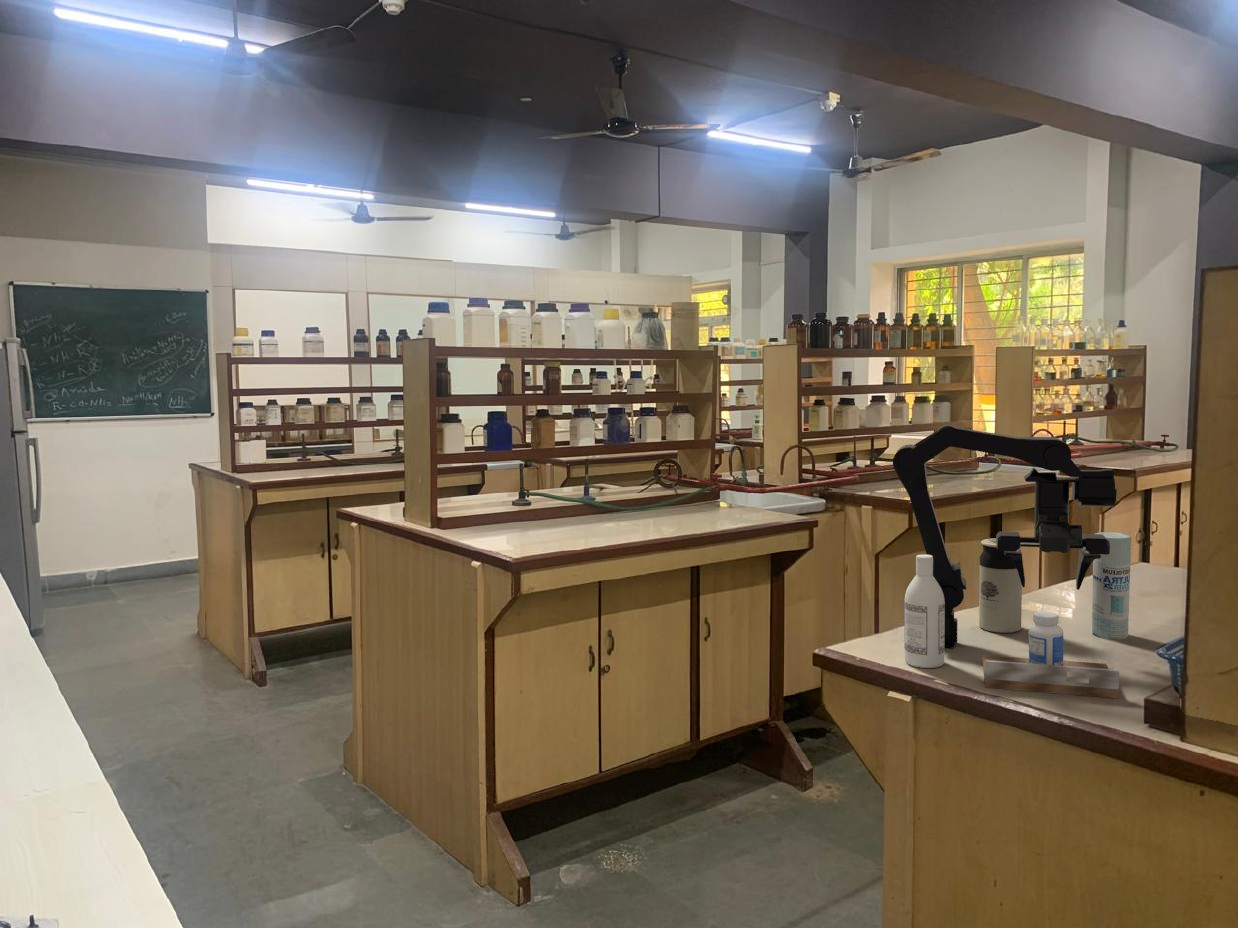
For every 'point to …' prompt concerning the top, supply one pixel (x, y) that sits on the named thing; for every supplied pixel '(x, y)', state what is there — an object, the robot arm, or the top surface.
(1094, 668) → the shelf board
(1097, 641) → the top surface
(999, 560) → the travel mug
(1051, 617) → the pill bottle
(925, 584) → the bath foam
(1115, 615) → the spray paint can
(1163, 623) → the top surface
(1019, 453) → the robot arm
